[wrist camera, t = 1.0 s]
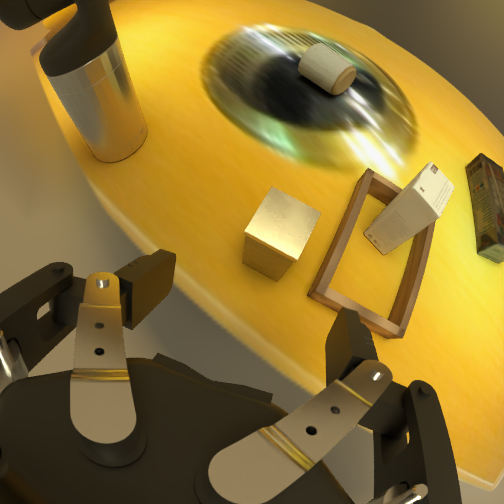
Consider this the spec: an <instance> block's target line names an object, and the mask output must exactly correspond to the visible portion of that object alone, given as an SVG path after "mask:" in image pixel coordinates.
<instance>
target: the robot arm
mask: <svg viewBox="0 0 504 504" xmlns="http://www.w3.org/2000/svg"><path fill="white" fill-rule="evenodd" d="M74 3H76V5H77V8H78V11H77V12H76V14H75V15H74V17H73V18H72V19H71V20H70V21H69V22H68V24H67V25H66V26H65V27H64V28H62V29H61V30H60V31H59V32H58V33H57V34H56V35H55V36H54V37H53V38H52V39H51V40H50V41H49V42H48V43H47V44H46V45H45V47H44V48H43V50H42V51H41V53H40V56H39V61H40V64H41V67H42V69H43V70H44V72H45V74H46V76H47V78H48V79H49V81H50V83H51V85H52V87H53V88H54V90H55V92H56V93H57V95H58V97H59V99H60V100H61V102H62V104H63V106H64V107H65V109H66V111H67V112H68V114H69V116H70V117H71V119H72V121H73V122H74V124H75V126H76V127H77V129H78V130H79V132H80V134H81V135H82V137H83V138H84V140H85V142H86V143H87V145H88V146H89V148H90V149H91V151H92V152H93V154H94V155H95V157H96V158H97V159H98V160H100V161H103V162H116V161H119V160H122V159H124V158H126V157H128V156H130V155H131V154H133V153H134V152H135V151H136V150H137V149H138V148H139V147H140V146H141V145H142V144H143V142H144V140H145V138H146V135H147V126H146V123H145V120H144V117H143V114H142V111H141V108H140V105H139V102H138V99H137V96H136V93H135V90H134V87H133V84H132V81H131V78H130V74H129V71H128V68H127V65H126V62H125V58H124V55H123V52H122V48H121V45H120V42H119V38H118V35H117V31H116V28H115V24H114V21H113V18H112V14H111V10H110V6H109V2H108V0H0V20H1V21H2V22H3V23H4V24H5V25H7V26H8V27H10V28H12V29H15V30H23V29H26V28H28V27H30V26H32V25H34V24H36V23H38V22H40V21H41V20H43V19H45V18H47V17H49V16H50V15H52V14H54V13H56V12H58V11H60V10H62V9H64V8H66V7H68V6H70V5H71V4H74ZM175 263H176V254H175V253H172V252H169V251H166V250H163V249H159V250H158V251H156V252H155V253H153V254H152V255H146V256H142V257H139V258H137V259H135V260H134V261H133V262H131V263H129V264H128V265H126V266H124V267H122V268H121V269H119V270H118V271H116V272H115V273H113V274H112V273H108V272H97V273H93V274H91V275H89V276H88V278H87V279H83V278H79V277H74V276H73V267H72V266H71V265H70V264H68V263H64V262H55V263H51V264H49V265H47V266H45V267H43V268H42V269H40V270H38V271H36V272H35V273H33V274H31V275H30V276H28V277H26V278H24V279H23V280H21V281H20V282H18V283H16V284H15V285H13V286H11V287H10V288H8V289H7V290H5V291H4V292H2V293H1V294H0V504H355V503H354V502H353V501H352V499H351V498H350V497H349V496H348V494H347V493H346V492H345V491H344V489H343V488H342V486H341V485H340V484H339V483H338V481H337V480H336V479H335V477H334V476H333V474H332V473H331V472H330V470H329V469H328V467H327V466H326V465H325V463H324V462H323V460H322V459H323V458H324V457H325V456H326V455H327V454H328V453H329V452H330V451H331V450H332V449H333V448H334V447H335V446H336V445H337V444H338V443H339V442H340V441H341V440H342V439H343V438H344V437H345V436H346V435H347V434H348V433H349V432H350V431H351V430H352V429H353V428H354V427H355V426H356V424H359V425H361V426H363V427H366V428H368V429H371V430H373V440H374V498H373V499H371V500H370V501H369V502H368V503H367V504H462V501H461V493H460V486H459V480H458V475H457V469H456V464H455V459H454V455H453V450H452V446H451V442H450V438H449V434H448V430H447V426H446V423H445V419H444V416H443V413H442V409H441V406H440V403H439V400H438V397H437V394H436V392H435V390H434V389H433V387H432V386H430V385H429V384H428V383H426V382H424V381H421V380H415V381H413V382H411V384H410V385H409V386H408V388H407V387H405V386H403V385H400V384H398V383H396V382H394V381H392V379H393V376H392V373H391V371H390V369H389V368H388V367H387V366H386V365H384V364H383V363H381V362H379V360H378V356H377V353H376V349H375V346H374V342H373V340H372V335H371V332H370V330H369V329H368V328H367V326H366V325H365V324H363V323H361V321H360V318H359V314H358V311H355V310H352V309H348V308H345V307H342V308H341V309H340V311H339V313H338V315H337V317H336V319H335V321H334V324H333V326H332V328H331V330H330V332H329V334H328V337H327V340H326V344H325V352H326V388H325V389H323V390H322V391H321V392H319V393H318V394H317V395H315V396H314V397H313V398H311V399H310V400H309V401H307V402H306V403H305V404H303V405H302V406H301V407H299V408H298V409H296V410H295V411H293V412H292V413H290V414H288V413H287V412H285V411H284V410H283V409H281V408H280V407H278V406H276V405H275V404H273V403H271V400H272V395H273V394H272V393H268V392H265V391H261V390H258V389H254V388H251V387H248V386H245V385H237V384H231V383H223V382H217V381H212V380H209V379H207V378H206V377H204V376H203V375H201V374H199V373H198V372H196V371H195V370H193V369H191V368H190V367H188V366H187V365H185V364H183V363H181V362H178V361H176V360H173V359H171V358H169V357H166V356H164V355H162V354H159V353H157V355H156V356H155V357H154V358H153V360H151V359H146V358H126V356H125V347H124V339H123V328H122V326H125V327H126V328H128V329H131V330H133V329H134V328H135V327H136V326H137V325H138V324H139V323H140V322H141V321H142V320H143V319H144V318H145V317H146V316H147V315H148V314H149V313H150V312H151V311H152V310H153V309H154V308H155V307H156V306H157V305H158V304H159V303H160V302H161V301H162V300H163V299H164V298H165V297H166V296H167V295H168V294H169V292H170V290H171V288H172V284H173V277H174V270H175ZM47 302H49V308H50V311H49V312H47V313H46V314H45V315H43V316H42V317H41V318H40V319H38V320H37V312H38V310H39V308H40V307H41V306H43V305H44V304H45V303H47ZM75 327H76V338H75V350H74V368H73V370H69V371H63V372H58V373H52V374H46V375H40V376H34V377H28V373H29V372H30V371H31V370H32V369H33V368H34V367H35V366H36V365H37V364H38V363H39V362H40V361H41V360H42V358H44V357H45V356H46V355H47V354H48V353H49V352H50V351H51V350H52V349H53V348H54V347H55V346H56V345H57V344H58V343H60V342H61V341H62V340H63V339H64V338H65V337H66V336H67V335H68V334H69V333H70V332H71V331H72V330H73V329H74V328H75ZM408 432H409V436H410V439H409V443H407V435H406V433H408Z"/></svg>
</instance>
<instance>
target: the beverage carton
mask: <svg viewBox="0 0 504 504" xmlns="http://www.w3.org/2000/svg"><path fill="white" fill-rule="evenodd" d="M466 172H467V176H468V181H469V187H470V193H471V199H472V206H473V214H474V223H475V233H476V242H477V254H478V255H481V256H484V257H486V258H488V259H490V260H492V261H494V262H496V263H501V262H504V172H503V168H502V167H501V166H499V165H498V164H496V163H495V162H494V161H492V160H491V159H489V158H488V157H486V156H485V155H484V154H482V153H480V154H479V155H478V156H477V157H476V158H474V160H472V161H471V162H470V163H469V164H468V165H467V166H466Z"/></svg>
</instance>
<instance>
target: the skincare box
mask: <svg viewBox="0 0 504 504" xmlns="http://www.w3.org/2000/svg"><path fill="white" fill-rule="evenodd" d="M453 189H454V186H453V184H452V183H451V182H450V181H449V180H448V179H447V178H446V176H445V175H444V174H443V173H442V172H441V171H440V170H439V169H438V168H437V167H436V166H435V165H434V164H433V163H432V162H429V163H428V164H427V165H426V166H425V167H424V168H423V169H422V170H421V171H420V172H419V173H418V174H417V176H416V177H415V178H414V179H413V180H412V181H411V182H410V183H409V184H408V185H407V186H406V187H405V188H404V189H403V190H402V191H401V192H400V193H399V194H398V195H397V196H396V197H395V198H394V199H393V200H392V201H391V202H390V203H389V204H388V205H387V206H386V208H385V209H384V210H383V211H382V212H381V213H380V214H379V215H378V217H377V218H376V219H375V220H374V221H373V223H372V224H371V225H370V226H369V227H368V228H367V230H366V231H365V232H364V235H365V236H366V237H367V238H368V239H369V240H370V241H371V242H372V243H373V245H374V246H375V247H376V248H377V249H378V250H379V251H380V252H381V253H382V254H383V255H385V254H387V253H389V252H390V251H392V250H393V249H395V248H396V247H398V246H399V245H401V244H402V243H404V242H405V241H407V240H408V239H410V238H411V237H413V236H414V235H416V234H417V233H418V232H420V231H421V230H423V229H424V228H425V227H427V226H428V225H430V224H431V223H432V222H434V221H435V220H437V219H438V218H440V216H441V214H442V212H443V210H444V208H445V206H446V204H447V202H448V200H449V198H450V196H451V194H452V192H453Z"/></svg>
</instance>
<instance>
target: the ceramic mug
mask: <svg viewBox="0 0 504 504" xmlns="http://www.w3.org/2000/svg"><path fill="white" fill-rule="evenodd" d="M298 69H299V73H300V74H301V75H303V76H304V77H306V78H308V79H309V80H311V81H312V82H314V83H315V84H317V85H318V86H320V87H321V88H322V89H324V90H325V91H327V92H329V93H331V94H333V95H338V94H341V93H343V92H344V91H345V90H346V89H347V88H348V87H349V86H350V85H351V83H352V82H353V80H354V79H355V76H356V69H355V67H354V66H353V65H352V64H351V63H350V62H349V61H347V60H346V59H345V58H343V57H342V56H340V55H339V54H337V53H336V52H335V51H333V50H332V49H330V48H329V47H327V46H326V45H324V44H322V43H318V44H315V45H313V46H312V47H310V48H309V49H308V50H307V51H306V52H305V53H304V55H303V56H302V58H301V60H300V63H299V68H298Z"/></svg>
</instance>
